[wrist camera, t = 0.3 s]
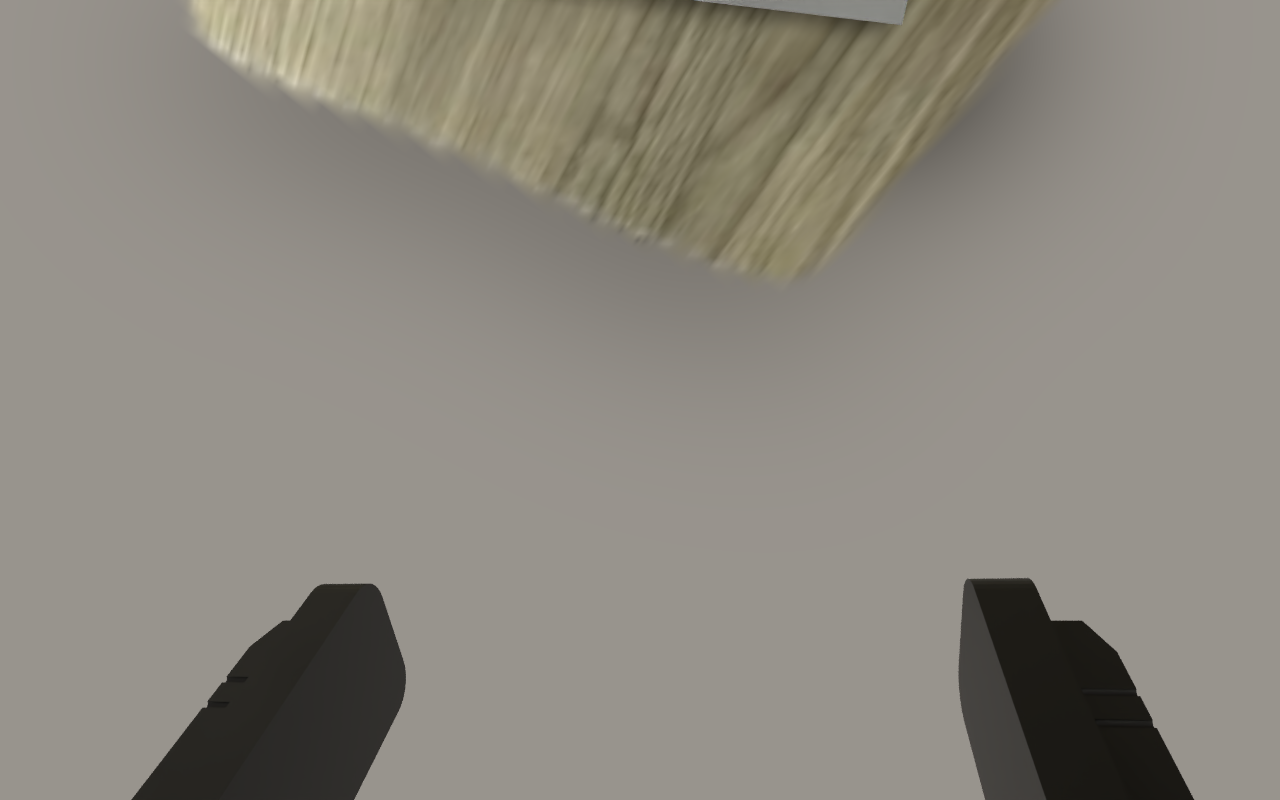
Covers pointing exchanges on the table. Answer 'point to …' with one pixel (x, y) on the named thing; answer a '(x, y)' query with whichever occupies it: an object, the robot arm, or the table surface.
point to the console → (833, 8)
